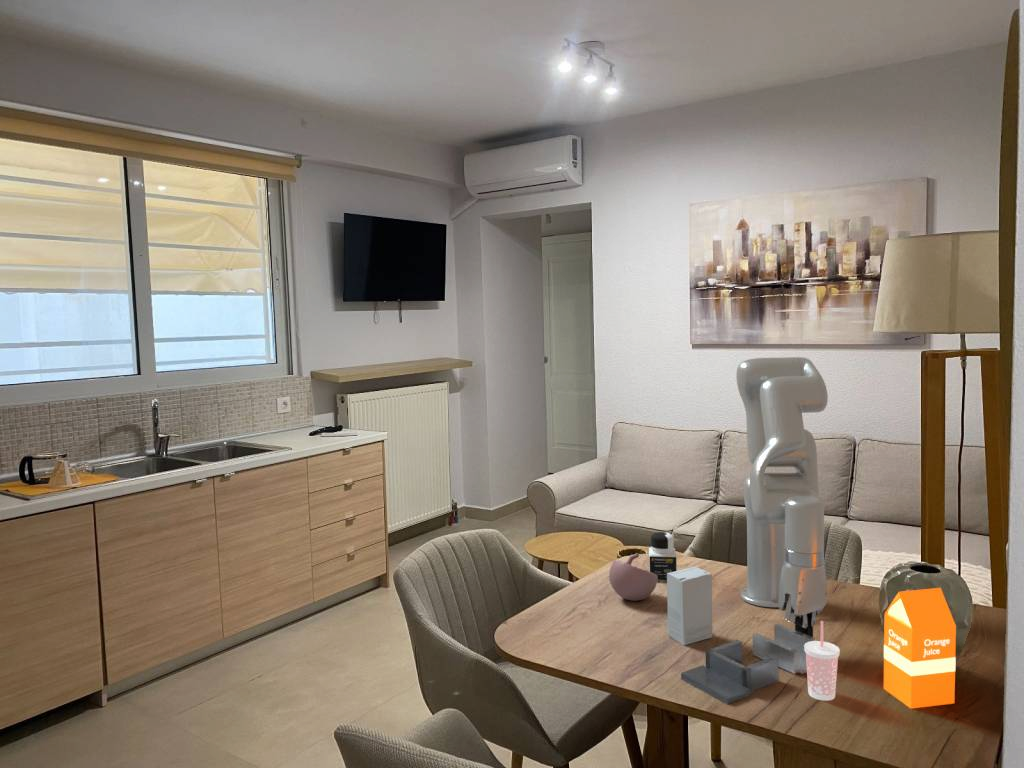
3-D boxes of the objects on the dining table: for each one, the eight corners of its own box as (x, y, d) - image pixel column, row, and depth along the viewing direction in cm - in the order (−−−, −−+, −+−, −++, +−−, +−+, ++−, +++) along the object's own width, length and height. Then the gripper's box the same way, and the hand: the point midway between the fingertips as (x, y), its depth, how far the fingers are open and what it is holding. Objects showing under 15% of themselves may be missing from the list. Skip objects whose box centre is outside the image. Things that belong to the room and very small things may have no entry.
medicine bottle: (649, 581, 202) (649, 537, 202) (649, 572, 210) (648, 530, 209) (676, 581, 201) (676, 537, 200) (675, 573, 208) (674, 530, 207)
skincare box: (696, 629, 170) (695, 565, 169) (714, 638, 165) (713, 572, 164) (666, 636, 167) (665, 571, 166) (683, 647, 161) (682, 579, 160)
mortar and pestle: (667, 599, 189) (667, 554, 188) (636, 611, 181) (635, 565, 181) (631, 587, 198) (630, 544, 197) (599, 598, 191) (599, 554, 190)
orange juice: (955, 703, 135) (957, 595, 133) (911, 709, 134) (912, 599, 132) (924, 683, 143) (926, 580, 141) (882, 688, 141) (883, 584, 140)
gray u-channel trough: (772, 645, 161) (772, 621, 160) (821, 666, 150) (821, 640, 150) (749, 653, 157) (749, 628, 157) (797, 675, 147) (798, 649, 146)
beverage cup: (822, 705, 136) (822, 630, 134) (796, 690, 141) (796, 618, 140) (847, 698, 138) (847, 624, 137) (821, 683, 144) (821, 612, 142)
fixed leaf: (734, 659, 155) (734, 638, 154) (782, 682, 144) (782, 660, 144) (681, 678, 147) (680, 656, 147) (727, 704, 137) (727, 680, 136)
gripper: (811, 546, 162) (811, 629, 163) (764, 559, 154) (765, 646, 156) (843, 555, 156) (842, 641, 157) (795, 569, 148) (795, 659, 149)
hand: (803, 643), depth 156 cm, fingers closed
